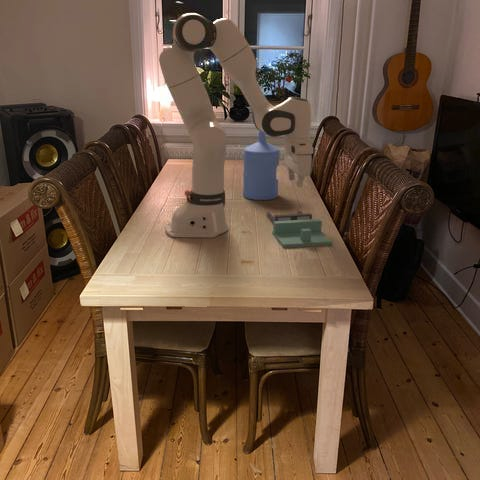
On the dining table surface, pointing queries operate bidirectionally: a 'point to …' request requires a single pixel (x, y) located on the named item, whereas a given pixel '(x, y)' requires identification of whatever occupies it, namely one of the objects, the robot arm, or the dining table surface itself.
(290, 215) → the glasses frame
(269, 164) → the water jug
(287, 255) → the dining table surface
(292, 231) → the display stand
